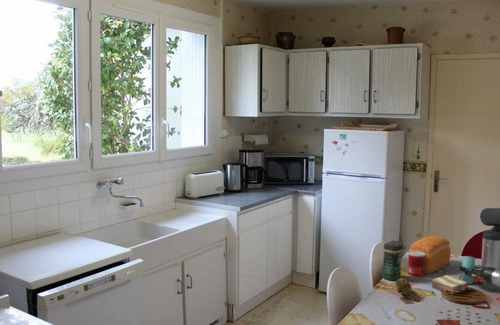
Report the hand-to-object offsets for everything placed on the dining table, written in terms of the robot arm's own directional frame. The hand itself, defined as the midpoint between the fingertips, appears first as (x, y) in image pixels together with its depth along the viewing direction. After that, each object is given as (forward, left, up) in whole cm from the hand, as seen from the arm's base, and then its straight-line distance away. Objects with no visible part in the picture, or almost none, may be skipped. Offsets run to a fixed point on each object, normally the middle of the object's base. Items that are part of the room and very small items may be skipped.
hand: (463, 267), depth 239 cm
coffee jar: (+26, -22, -8) cm, 35 cm away
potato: (+39, -4, -8) cm, 40 cm away
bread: (-6, -24, -8) cm, 26 cm away
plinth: (+15, +3, -7) cm, 16 cm away
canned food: (+11, -19, -8) cm, 23 cm away
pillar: (0, +3, -7) cm, 7 cm away
